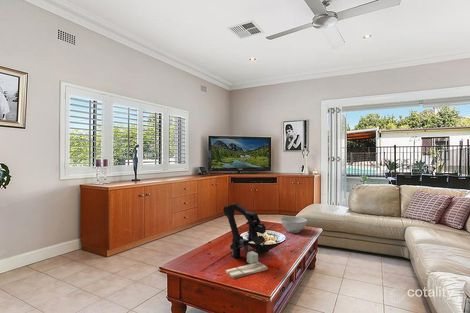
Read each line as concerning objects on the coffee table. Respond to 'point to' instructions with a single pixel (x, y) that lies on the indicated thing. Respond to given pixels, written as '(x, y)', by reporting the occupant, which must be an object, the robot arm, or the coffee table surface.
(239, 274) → the birch board
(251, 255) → the block
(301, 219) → the decorative bowl
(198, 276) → the coffee table surface
